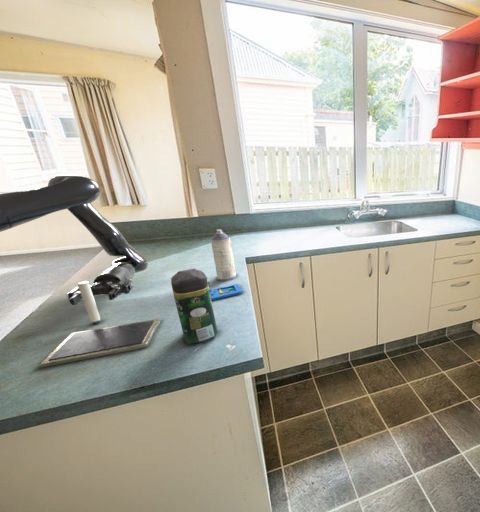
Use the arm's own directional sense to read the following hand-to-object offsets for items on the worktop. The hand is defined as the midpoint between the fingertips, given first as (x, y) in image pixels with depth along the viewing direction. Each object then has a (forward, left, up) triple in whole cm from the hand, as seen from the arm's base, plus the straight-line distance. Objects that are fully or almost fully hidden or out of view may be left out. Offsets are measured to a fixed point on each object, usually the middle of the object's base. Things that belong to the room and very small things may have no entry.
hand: (91, 299), depth 86 cm
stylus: (0, -2, -7) cm, 7 cm away
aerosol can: (+33, +23, -7) cm, 41 cm away
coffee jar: (+29, -21, -7) cm, 36 cm away
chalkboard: (+7, -15, -7) cm, 18 cm away
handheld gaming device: (+31, +6, -7) cm, 32 cm away
